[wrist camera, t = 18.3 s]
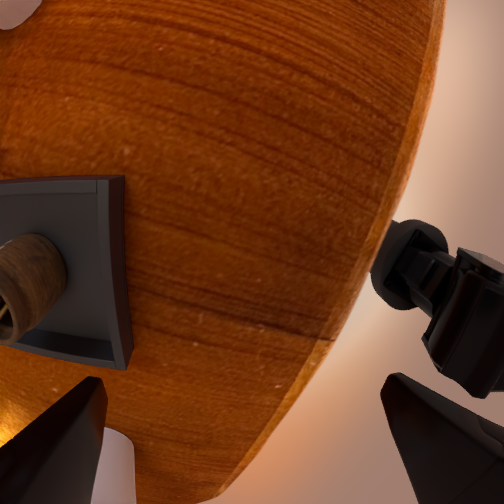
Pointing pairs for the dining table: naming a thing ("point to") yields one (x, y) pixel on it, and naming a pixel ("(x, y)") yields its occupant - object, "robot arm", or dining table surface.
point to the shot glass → (16, 12)
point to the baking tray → (76, 264)
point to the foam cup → (115, 471)
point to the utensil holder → (28, 284)
